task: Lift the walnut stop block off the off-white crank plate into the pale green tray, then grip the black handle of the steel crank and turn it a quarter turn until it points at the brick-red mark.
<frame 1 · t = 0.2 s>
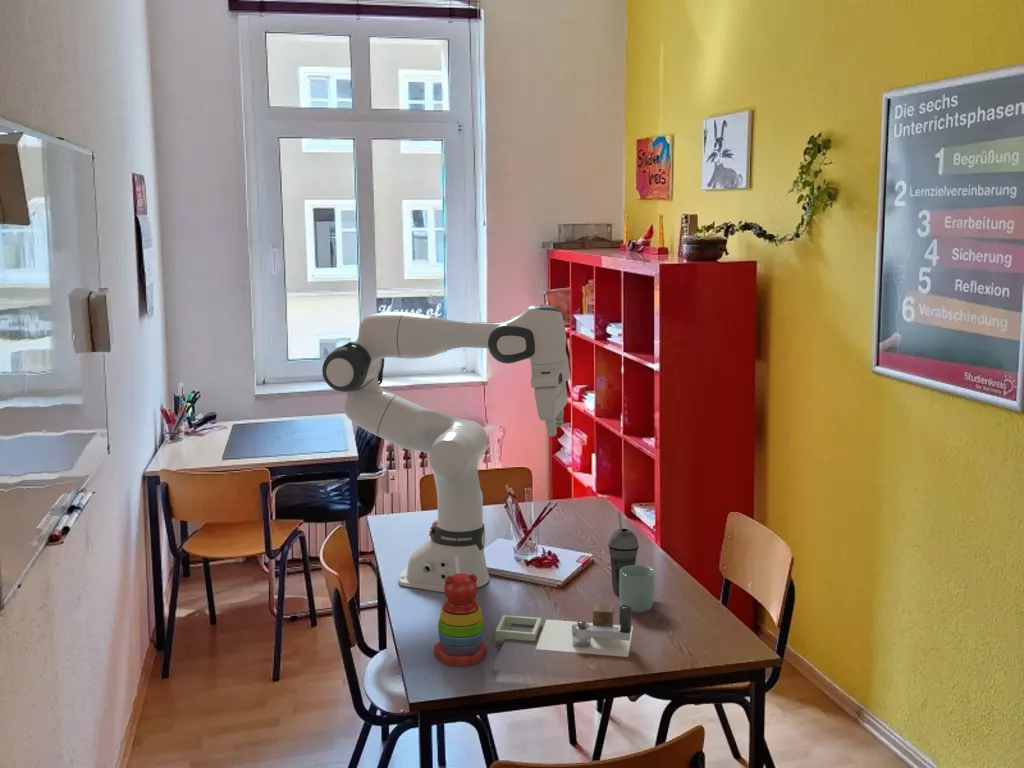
hand: (556, 431, 230), 39 cm above the table, tool pointing down, fingers open, 8 cm apart
stacking bear: (461, 657, 200), on the table
stop block: (603, 634, 207), point 1 cm above the table, touching crank plate
cup: (636, 613, 222), on the table
crank: (601, 624, 201), point 6 cm above the table, hinge at 0.0°
crank plate: (585, 643, 206), on the table
tray: (518, 637, 209), on the table
beverage cup: (622, 592, 234), on the table
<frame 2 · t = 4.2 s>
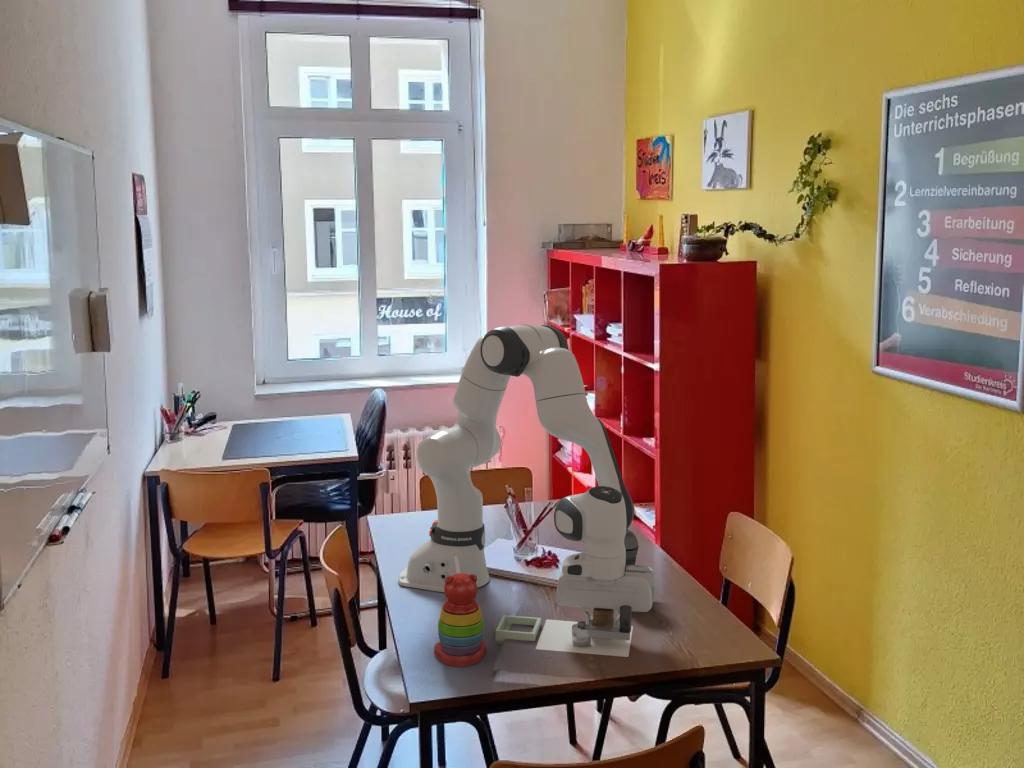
hand: (603, 626, 206), 3 cm above the table, tool pointing down, fingers closed on stop block, 4 cm apart
stop block: (603, 634, 207), point 1 cm above the table, touching crank plate, gripper
everything else where it was.
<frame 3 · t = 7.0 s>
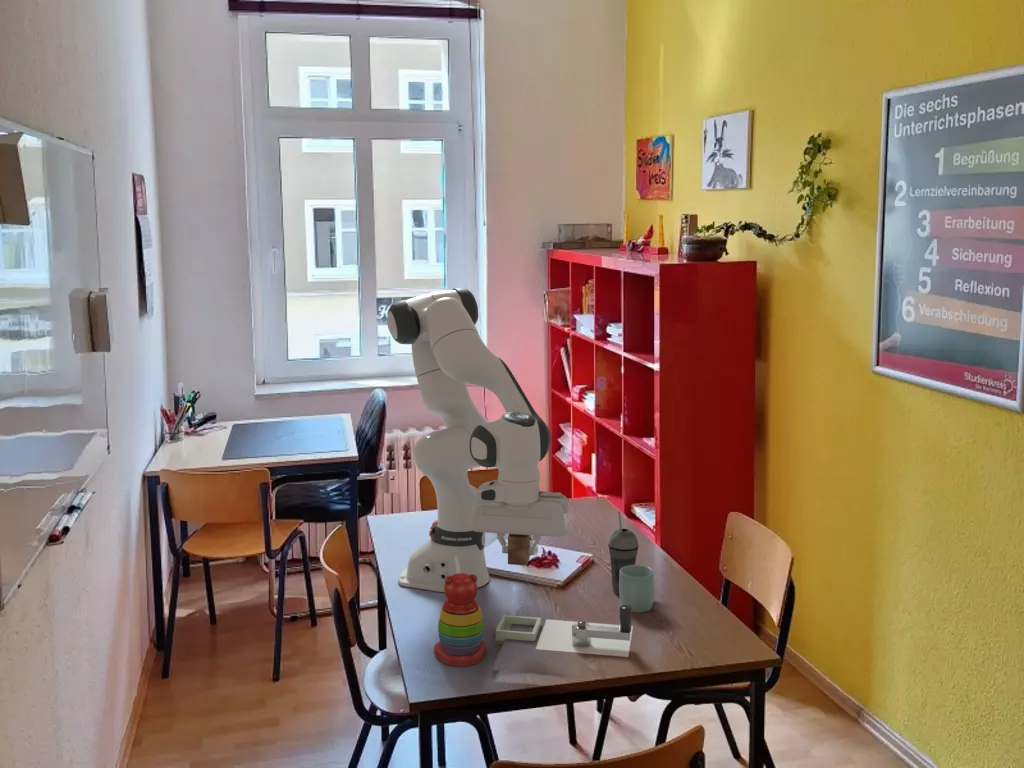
hand: (518, 553, 206), 19 cm above the table, tool pointing down, fingers closed on stop block, 4 cm apart
stop block: (518, 561, 206), point 17 cm above the table, touching gripper
everything else where it was.
when the fingers open (5 cm above the table, at t = 10.0 s): stop block drops 2 cm, resting on tray.
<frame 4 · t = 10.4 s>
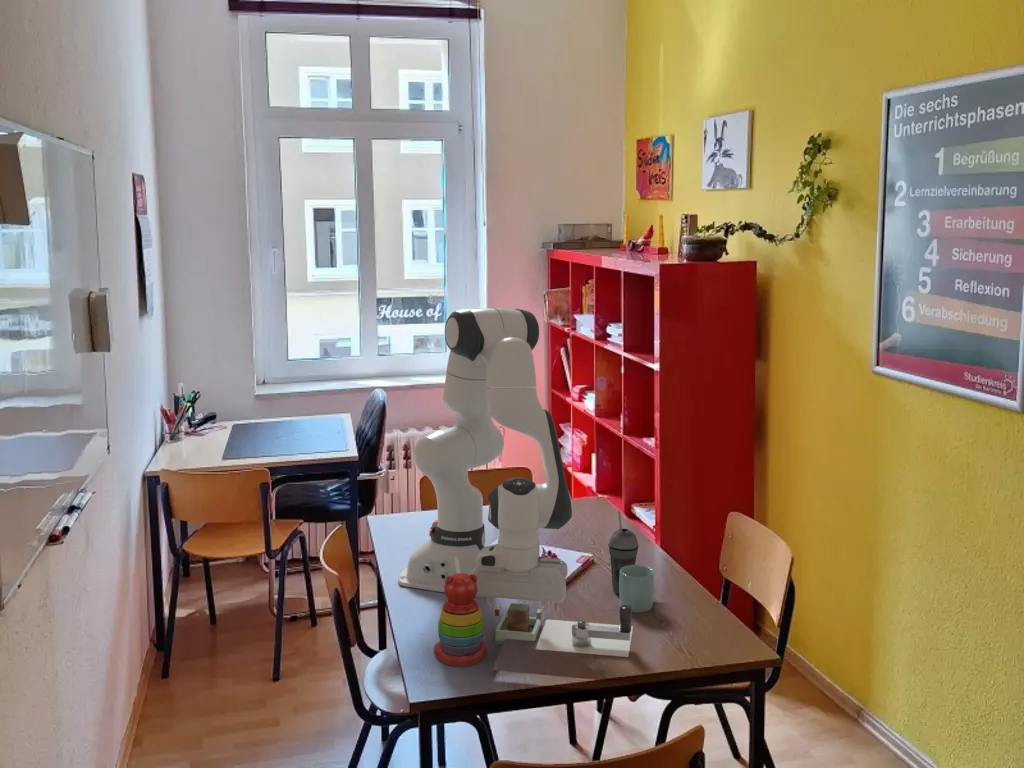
hand: (518, 617, 208), 5 cm above the table, tool pointing down, fingers open, 8 cm apart
stop block: (518, 633, 209), point 1 cm above the table, touching tray
everything else where it was.
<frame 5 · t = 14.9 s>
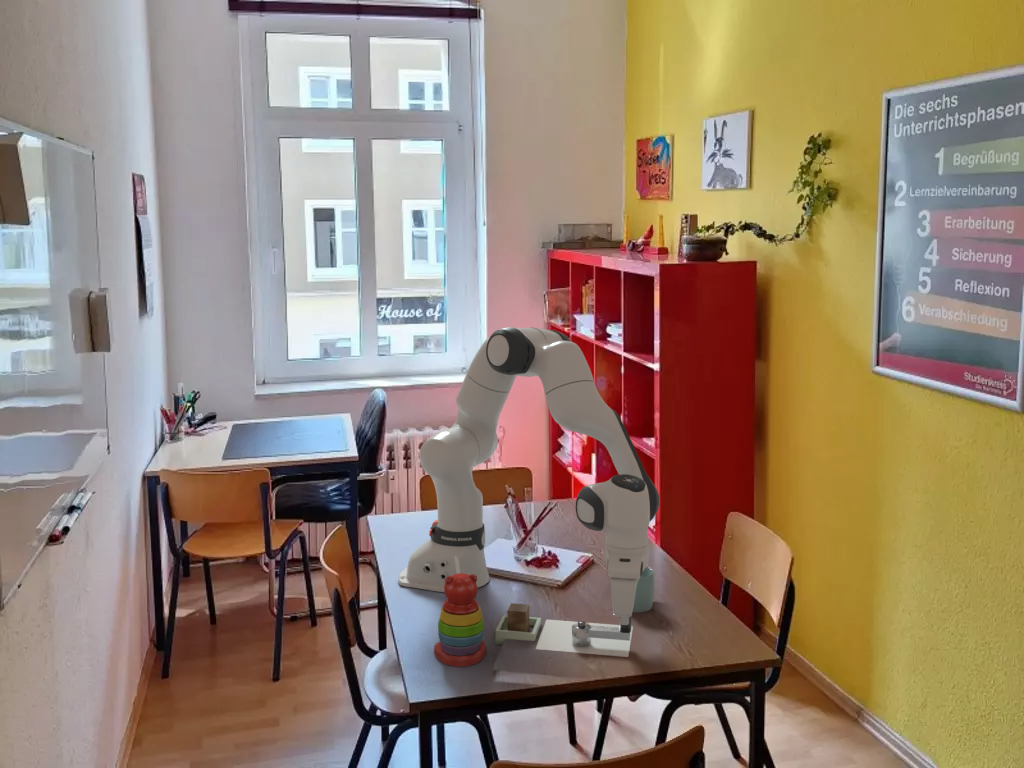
hand: (625, 619, 199), 8 cm above the table, tool pointing down, fingers closed on crank, 2 cm apart
crank: (601, 624, 201), point 6 cm above the table, hinge at 0.0°, touching gripper
everything else where it was.
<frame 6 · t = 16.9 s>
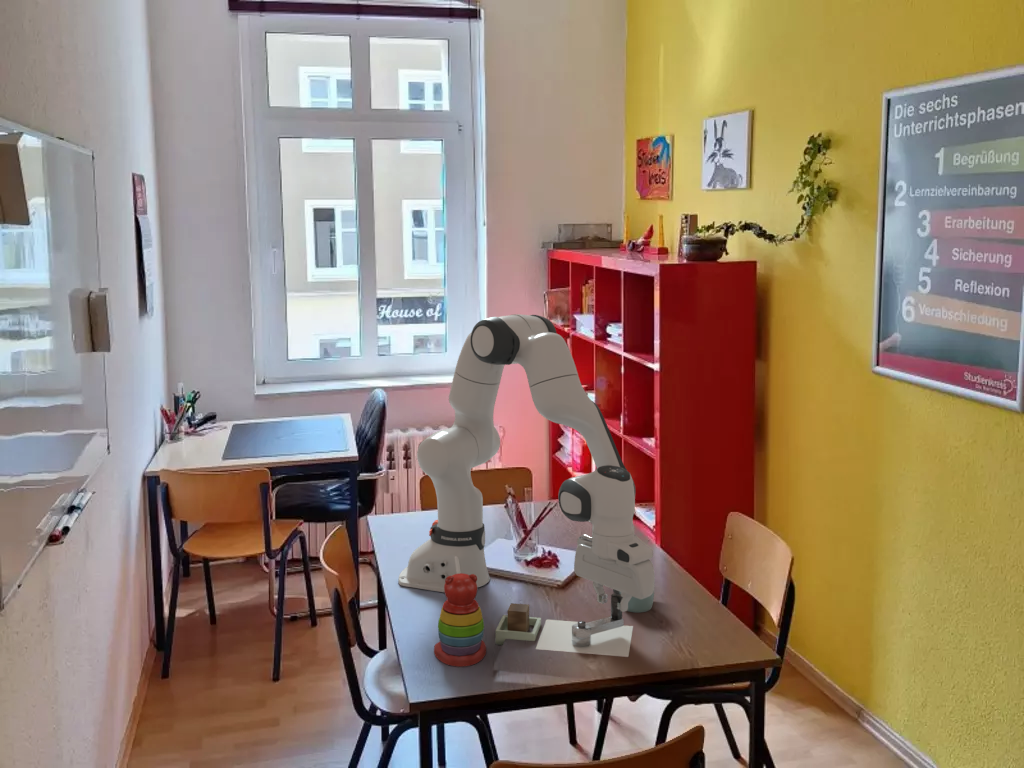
hand: (612, 606, 206), 8 cm above the table, tool pointing down, fingers open, 4 cm apart
crank: (597, 619, 203), point 6 cm above the table, hinge at 41.8°, touching gripper
everything else where it was.
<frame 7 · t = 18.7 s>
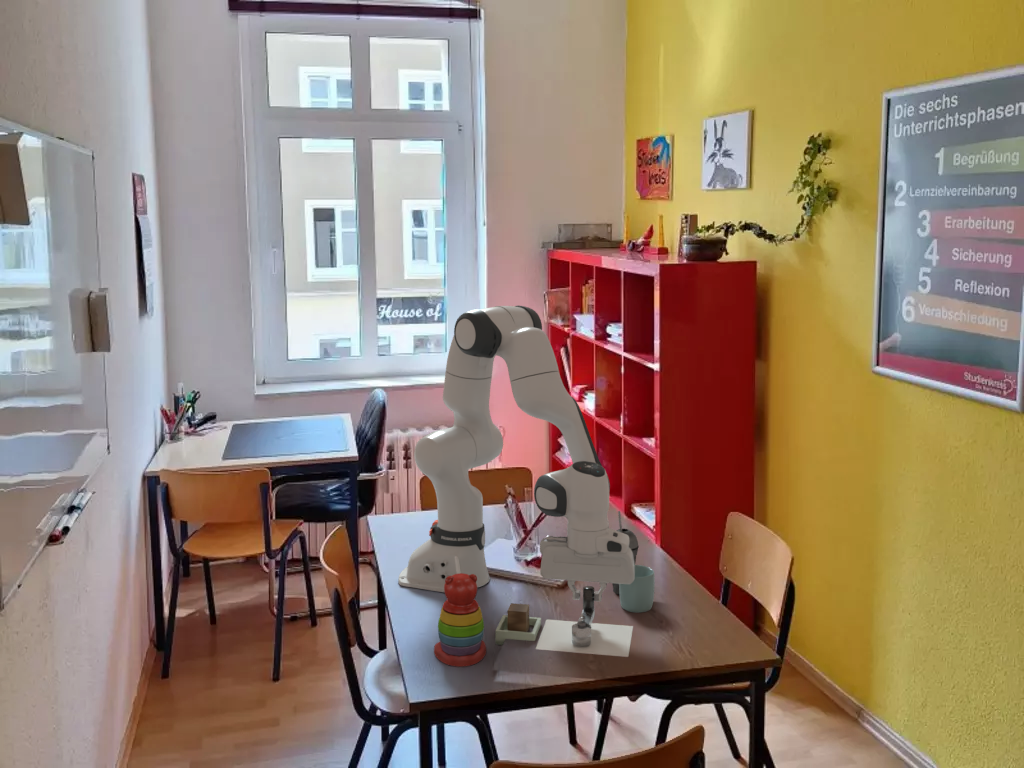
hand: (587, 599, 210), 8 cm above the table, tool pointing down, fingers open, 3 cm apart
crank: (584, 615, 205), point 6 cm above the table, hinge at 87.2°
everything else where it was.
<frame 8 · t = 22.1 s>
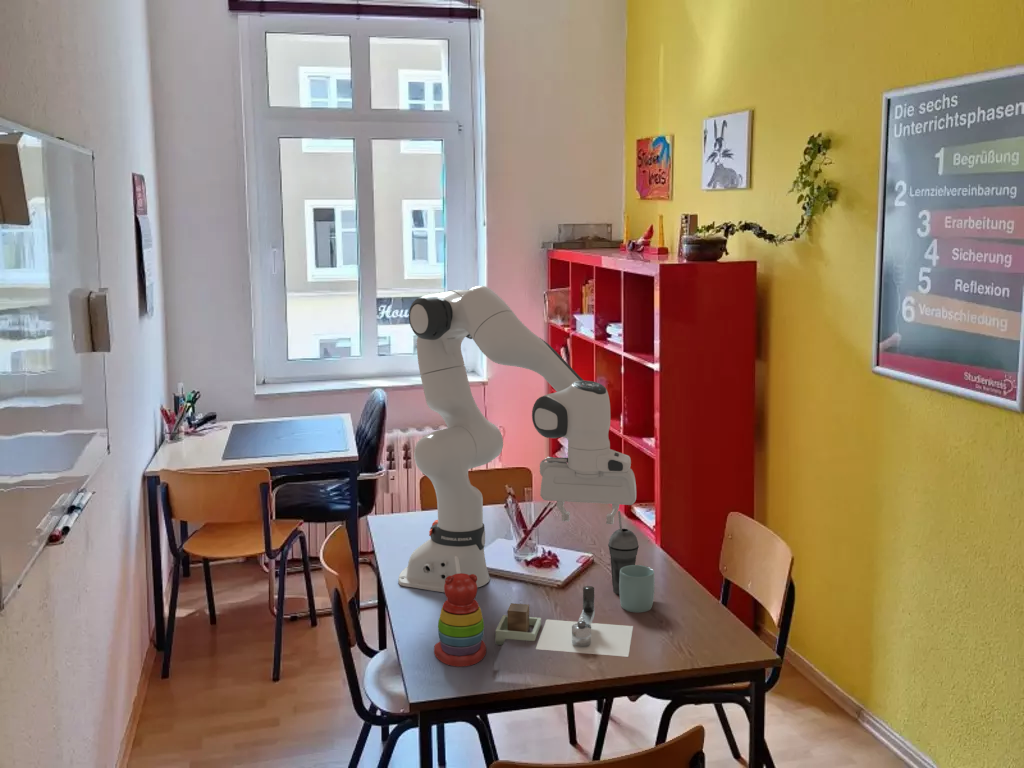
hand: (587, 521, 207), 25 cm above the table, tool pointing down, fingers open, 8 cm apart
nothing on the table moved.
at the end: stop block 0.0 cm off-centre on the tray, point 0.8 cm above the tray's base; crank at +87° (first picture: +0°); the gripper is holding nothing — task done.
